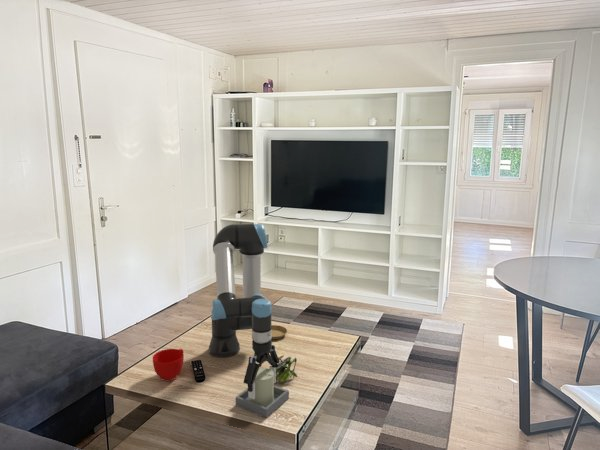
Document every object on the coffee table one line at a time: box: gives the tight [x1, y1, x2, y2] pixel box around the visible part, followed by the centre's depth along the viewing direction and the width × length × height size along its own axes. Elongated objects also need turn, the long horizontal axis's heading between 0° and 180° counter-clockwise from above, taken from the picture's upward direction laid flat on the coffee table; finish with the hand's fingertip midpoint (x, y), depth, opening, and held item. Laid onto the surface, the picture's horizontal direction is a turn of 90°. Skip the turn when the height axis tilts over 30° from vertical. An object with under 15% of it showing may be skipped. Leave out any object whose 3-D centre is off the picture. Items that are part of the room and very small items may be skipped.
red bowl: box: [152, 348, 185, 381], centre depth 191 cm, size 13×17×10 cm
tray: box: [235, 385, 290, 419], centre depth 172 cm, size 15×15×4 cm
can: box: [251, 367, 275, 407], centre depth 171 cm, size 9×9×12 cm
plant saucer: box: [271, 324, 288, 340], centre depth 233 cm, size 15×15×3 cm
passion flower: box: [276, 355, 298, 384], centre depth 190 cm, size 11×11×12 cm
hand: (262, 389), depth 171 cm, fingers open, 13 cm apart
